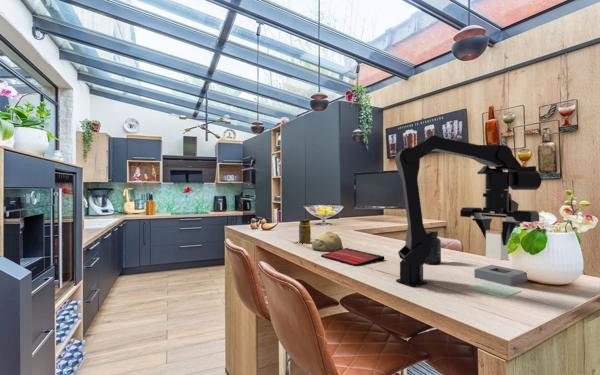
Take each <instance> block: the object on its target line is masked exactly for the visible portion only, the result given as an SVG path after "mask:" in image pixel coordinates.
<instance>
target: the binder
mask: <svg viewBox="0 0 600 375" xmlns="http://www.w3.org/2000/svg"><path fill="white" fill-rule="evenodd" d="M320 257H321V258H324V259H329V260H332V261H336V262H340V263H343V264H346V265H348V266H351V267H359V266H363V265H369V264H374V263H377V262H378V261H379V260H380V261H385V256H384V255H380V254H375V253H371V252H365V251H361V250H356V249H353V248H348V247H346V248H345V247H343V249H341V250H337V251H331V252H330V251H329V252H327V253H322V254H321V256H320ZM378 263H379V262H378Z"/></svg>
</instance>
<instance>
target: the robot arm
mask: <svg viewBox="0 0 600 375" xmlns="http://www.w3.org/2000/svg"><path fill="white" fill-rule="evenodd" d="M432 151H433V152H434V151H435V152H439V153H445V154H449V155H454V156H457V157H463V158H468V159H471V160H474V161H475V162H477V163H479V164H482V165H484V166H482V168H481V169H479V170H478V171H477V173H476V174H478V175H485V177H484V178H485V180H484V181H485V186H484V188H485V189H484V191H485V192H483V193H482V197H483V198H485V200H484V201H485V202H484V206H485V207H476V206H475V207H474V206H473V207H471V206H469V207H468V206H467V207H466V206H465V207H462V208H461V209H460V210H459V216H460V217H461V218H471V217H473V218H472V221H475V223H476V225H477V226H478V228H479V229H480V232H481V233H482V235H483V237H484V240H486V230H491V223H492V220H493V219H492V218H503V219H506V220H502V221H501V225H502V226H501V228H502V240H503V245H507V243H508V244H509V240H510V238H511V236H512V235H513V231H514V230H515V228H517V226H518V225H520V224H523V223H536V222H540V213H539V212H538V211H537V210H531V209H530V210H525V209H520V210H519V204H520V203H518V202H517V201H515V200H514V199H512V193H510V190H509V189H511V190H513V191H536V190H539V188H540V187H541V185H542V181H543V180H542V176H541V174H540V172H539V171H538V170H537V166H535V165H532V166H531V165H529V166H522V165H521V163H520V162H519V160H518V159H517V158H516V157H515V156H514V155H513V151H512V149H511V147H510V146H508V145H504V144H475V143H471V142H467V141H461V140H456V139H451V138H447V137H442V136H439V135H436V134H435V135H430V136H428V137H426V138H425V139H424V140H423V141H421V142H420V143H418V144H417V145H415V146H413V147H405V148H403V149H402V150H400V151H398V152H397V154H396V155H395V157H394V163H395V165H396V166H395V167H396V168H397V173H398V174H399V176H400V177H399V178H400V179H401V182H402V188H403V189H402V190H403V197H404V199H403V200H404V206H405V212H406V213H405V214H406V222H407V229H406V234H405V245H403V246H402V248H401V249H399V250H398V251H397V252H398V257H399V258H400V259H401V261H399V277H400V278H397V279H395V282H397V283H400V284H403V285H405V286H410V287H412V288H413V287H418V286H422V285H425V284H426V285H427V284H428V281H427V280H424V265H425V263H424V262H425V260H426V258H427V257H428V256H429V255H430V254H431V252H432V248H431V247H434V246H433V244H432V233H431V232H428V231H426V230H427V229H425V226H424V221H423V220H424V219H423V212H422V205H421V197H420V188H419V181H418V180H419V179H418V176H419V172H420V165H421V164H420V163H421V159H423V157H425V156H427V155H428V154H429V153H430V152H432ZM488 217H490V218H488Z"/></svg>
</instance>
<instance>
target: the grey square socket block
mask: <svg viewBox="0 0 600 375" xmlns="http://www.w3.org/2000/svg"><path fill="white" fill-rule="evenodd" d="M524 271H525V270H520V269H515V268H510V267H505V266H499V265H496V264H495V265H494V264H489V265H485V266H482V267H478V268H474V273H473V274H474V278H475V279H480V280H484V281H487V282H491V283H494V284H495V283H496V284H498V285H499V284H500V285H504V286H507V287H513V286H516V285H519V284H521V283H525V282H528V279H529V278H528V277H527V273H526V272H527V271H526V272H524Z"/></svg>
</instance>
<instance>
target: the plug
mask: <svg viewBox="0 0 600 375" xmlns="http://www.w3.org/2000/svg"><path fill="white" fill-rule="evenodd" d="M508 246H509V242H508V243H507V245H503V240H502V230H500V229H490V230H486V239H485V259H491V260H496V261H505V260H508V259H509V258H508V256H509V254H508V251H509V247H508Z"/></svg>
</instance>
